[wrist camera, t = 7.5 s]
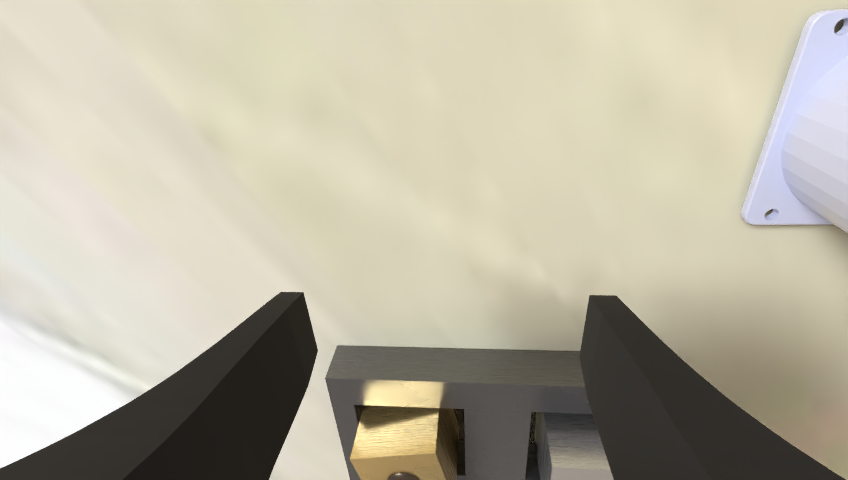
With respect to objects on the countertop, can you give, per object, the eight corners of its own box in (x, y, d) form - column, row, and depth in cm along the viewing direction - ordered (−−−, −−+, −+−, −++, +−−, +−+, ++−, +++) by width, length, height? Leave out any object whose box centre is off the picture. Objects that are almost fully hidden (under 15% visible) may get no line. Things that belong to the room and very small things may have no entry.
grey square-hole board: (669, 353, 23) (688, 390, 21) (634, 467, 28) (647, 506, 26) (337, 345, 25) (325, 378, 23) (360, 453, 30) (352, 487, 28)
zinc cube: (620, 386, 25) (651, 473, 20) (608, 437, 27) (634, 525, 23) (538, 384, 25) (552, 468, 21) (534, 434, 28) (545, 519, 23)
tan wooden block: (441, 374, 26) (435, 454, 21) (458, 424, 28) (455, 506, 23) (369, 382, 27) (349, 460, 22) (391, 429, 29) (376, 510, 24)
